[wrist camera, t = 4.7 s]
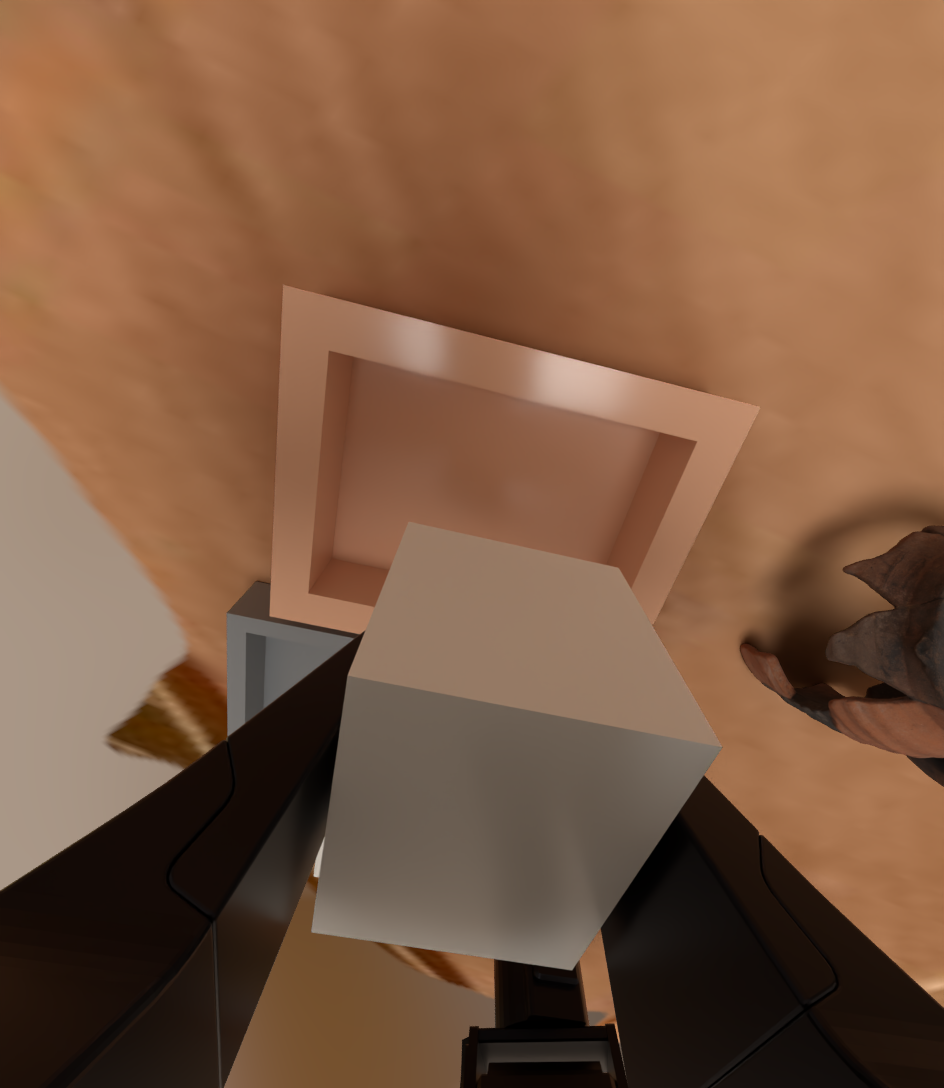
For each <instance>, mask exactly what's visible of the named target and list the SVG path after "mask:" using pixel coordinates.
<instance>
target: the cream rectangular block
mask: <svg viewBox="0 0 944 1088" xmlns="http://www.w3.org/2000/svg"><path fill="white" fill-rule="evenodd" d="M721 749H722V745H721V744H720V742H719V740H718V739H717V737H716V735H715V733H714V732H713V730H712V728H711V726H710V725H709V723H708V721H707V720H706V718H705V716H704V714H703V713H702V711H701V709H700V707H699V706H698V704H697V702H696V700H695V699H694V697H693V695H692V694H691V692H690V690H689V688H688V687H687V685H686V683H685V681H684V680H683V678H682V676H681V675H680V673H679V671H678V669H677V668H676V666H675V664H674V662H673V661H672V659H671V657H670V656H669V654H668V652H667V650H666V649H665V647H664V645H663V643H662V642H661V640H660V638H659V636H658V635H657V633H656V631H655V630H654V628H653V626H652V624H651V623H650V621H649V619H648V617H647V616H646V614H645V612H644V611H643V609H642V607H641V605H640V604H639V602H638V600H637V598H636V597H635V595H634V593H633V592H632V590H631V588H630V586H629V585H628V583H627V581H626V579H625V578H624V576H623V574H622V573H621V571H620V569H619V568H617V567H613V566H608V565H604V564H599V563H595V562H590V561H585V560H581V559H576V558H572V557H567V556H563V555H558V554H554V553H549V552H545V551H540V550H535V549H531V548H526V547H522V546H517V545H513V544H508V543H504V542H499V541H495V540H490V539H485V538H481V537H476V536H472V535H467V534H463V533H458V532H454V531H449V530H445V529H440V528H435V527H431V526H426V525H422V524H417V523H413V522H408V525H407V527H406V530H405V532H404V535H403V537H402V540H401V542H400V545H399V547H398V550H397V552H396V555H395V557H394V560H393V562H392V565H391V568H390V570H389V573H388V575H387V578H386V580H385V583H384V585H383V588H382V590H381V593H380V595H379V598H378V600H377V603H376V605H375V608H374V610H373V613H372V615H371V618H370V620H369V623H368V625H367V628H366V630H365V633H364V635H363V638H362V641H361V643H360V646H359V648H358V651H357V653H356V656H355V658H354V661H353V663H352V666H351V668H350V671H349V673H348V676H347V683H346V690H345V697H344V704H343V711H342V718H341V726H340V733H339V740H338V747H337V754H336V761H335V768H334V775H333V782H332V789H331V796H330V803H329V810H328V817H327V824H326V831H325V839H324V846H323V853H322V860H321V867H320V874H319V881H318V888H317V895H316V902H315V909H314V916H313V924H312V931H311V932H314V933H321V934H328V935H335V936H341V937H348V938H355V939H361V940H368V941H375V942H382V943H389V944H396V945H402V946H409V947H416V948H423V949H430V950H437V951H443V952H450V953H457V954H464V955H471V956H477V957H484V958H491V959H498V960H505V961H512V962H518V963H525V964H532V965H539V966H546V967H553V968H559V969H566V970H573V968H574V967H575V965H576V964H577V962H578V961H579V959H580V958H581V956H582V955H583V953H584V952H585V950H586V949H587V947H588V946H589V944H590V943H591V941H592V940H593V938H594V937H595V936H596V934H597V933H598V931H599V930H600V928H601V927H602V925H603V924H604V922H605V921H606V919H607V918H608V916H609V915H610V913H611V912H612V910H613V909H614V907H615V906H616V904H617V903H618V901H619V900H620V898H621V897H622V896H623V894H624V893H625V891H626V890H627V888H628V887H629V885H630V884H631V882H632V881H633V879H634V878H635V876H636V875H637V873H638V872H639V870H640V869H641V867H642V866H643V864H644V863H645V861H646V860H647V858H648V857H649V856H650V854H651V853H652V851H653V850H654V848H655V847H656V845H657V844H658V842H659V841H660V839H661V838H662V836H663V835H664V833H665V832H666V830H667V829H668V827H669V826H670V824H671V823H672V821H673V820H674V818H675V817H676V816H677V814H678V813H679V811H680V810H681V808H682V807H683V805H684V804H685V802H686V801H687V799H688V798H689V796H690V795H691V793H692V792H693V790H694V789H695V787H696V786H697V784H698V783H699V781H700V780H701V779H702V777H703V776H704V774H705V773H706V771H707V770H708V768H709V767H710V765H711V764H712V762H713V761H714V759H715V758H716V756H717V755H718V753H719V752H720V750H721Z"/></svg>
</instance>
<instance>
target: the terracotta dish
mask: <svg viewBox="0 0 944 1088" xmlns="http://www.w3.org/2000/svg"><path fill="white" fill-rule="evenodd" d="M760 408H761V407H759V406H755V405H751V404H747V403H744V402H740V401H736V400H732V399H728V398H724V397H721V396H717V395H713V394H709V393H705V392H701V391H697V390H693V389H690V388H686V387H682V386H678V385H674V384H670V383H666V382H662V381H658V380H654V379H650V378H647V377H643V376H639V375H635V374H631V373H627V372H623V371H619V370H615V369H611V368H608V367H604V366H600V365H596V364H592V363H588V362H584V361H580V360H576V359H572V358H568V357H565V356H561V355H557V354H553V353H549V352H545V351H541V350H537V349H533V348H529V347H525V346H522V345H518V344H514V343H510V342H506V341H502V340H498V339H494V338H490V337H486V336H482V335H479V334H475V333H471V332H467V331H463V330H459V329H455V328H451V327H447V326H443V325H439V324H436V323H432V322H428V321H424V320H420V319H416V318H412V317H408V316H404V315H400V314H396V313H393V312H389V311H385V310H381V309H377V308H373V307H369V306H365V305H361V304H357V303H354V302H350V301H346V300H342V299H338V298H334V297H330V296H326V295H322V294H318V293H314V292H310V291H306V290H302V289H298V288H294V287H290V286H286V285H283V300H282V324H281V348H280V373H279V397H278V421H277V445H276V470H275V494H274V518H273V542H272V567H271V591H270V615H269V616H271V617H276V618H281V619H286V620H291V621H296V622H301V623H306V624H311V625H316V626H321V627H326V628H331V629H336V630H341V631H346V632H351V633H356V634H361V633H362V632H363V631H365V630H366V628H367V625H368V623H369V620H370V618H371V615H372V613H373V610H374V608H375V605H376V603H377V600H378V598H379V595H380V593H381V590H382V588H383V585H384V583H385V580H386V578H387V575H388V573H389V570H390V568H391V565H392V562H393V560H394V557H395V555H396V552H397V550H398V547H399V545H400V542H401V540H402V537H403V535H404V532H405V530H406V527H407V525H408V522H413V523H417V524H422V525H426V526H431V527H435V528H440V529H445V530H449V531H454V532H458V533H463V534H467V535H472V536H476V537H481V538H485V539H490V540H495V541H499V542H504V543H508V544H513V545H517V546H522V547H526V548H531V549H535V550H540V551H545V552H549V553H554V554H558V555H563V556H567V557H572V558H576V559H581V560H585V561H590V562H595V563H599V564H604V565H608V566H613V567H617V568H619V569H620V571H621V573H622V574H623V576H624V578H625V579H626V581H627V583H628V585H629V586H630V588H631V590H632V592H633V593H634V595H635V597H636V598H637V600H638V602H639V604H640V605H641V607H642V609H643V611H644V612H645V614H646V616H647V617H648V619H649V621H650V623H651V624H652V626H653V624H654V622H655V620H656V618H657V616H658V614H659V612H660V610H661V608H662V606H663V604H664V602H665V600H666V598H667V596H668V594H669V592H670V590H671V588H672V586H673V584H674V582H675V580H676V578H677V576H678V574H679V572H680V570H681V568H682V566H683V564H684V562H685V560H686V557H687V555H688V553H689V551H690V549H691V547H692V545H693V543H694V541H695V539H696V537H697V535H698V533H699V531H700V529H701V527H702V525H703V523H704V521H705V519H706V517H707V515H708V513H709V511H710V509H711V507H712V505H713V503H714V501H715V499H716V497H717V495H718V493H719V491H720V489H721V487H722V485H723V483H724V481H725V479H726V477H727V475H728V473H729V470H730V468H731V466H732V464H733V462H734V460H735V458H736V456H737V454H738V452H739V450H740V448H741V446H742V444H743V442H744V440H745V438H746V436H747V434H748V432H749V430H750V428H751V426H752V424H753V422H754V420H755V418H756V416H757V414H758V412H759V410H760Z"/></svg>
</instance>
